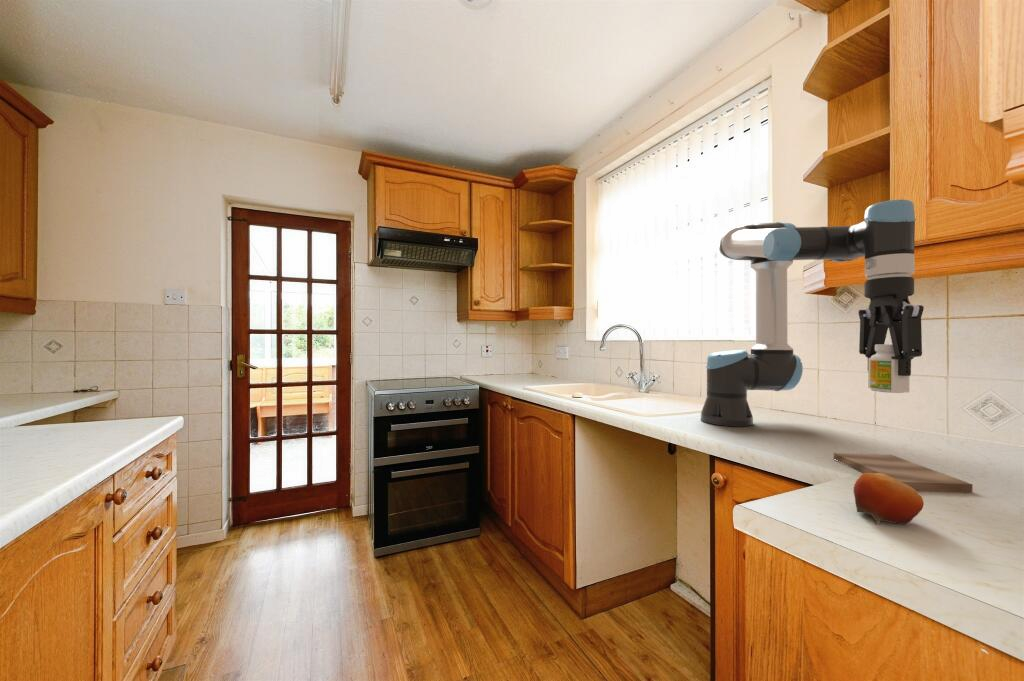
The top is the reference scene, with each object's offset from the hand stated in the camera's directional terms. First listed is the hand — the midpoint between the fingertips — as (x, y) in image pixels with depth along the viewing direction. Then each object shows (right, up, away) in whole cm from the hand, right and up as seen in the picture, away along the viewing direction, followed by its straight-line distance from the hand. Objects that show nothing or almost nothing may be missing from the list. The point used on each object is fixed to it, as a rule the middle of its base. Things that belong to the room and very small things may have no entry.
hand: (887, 389), depth 83 cm
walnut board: (+1, -17, 0) cm, 17 cm away
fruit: (-19, -18, -20) cm, 33 cm away
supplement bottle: (0, -1, 0) cm, 1 cm away
